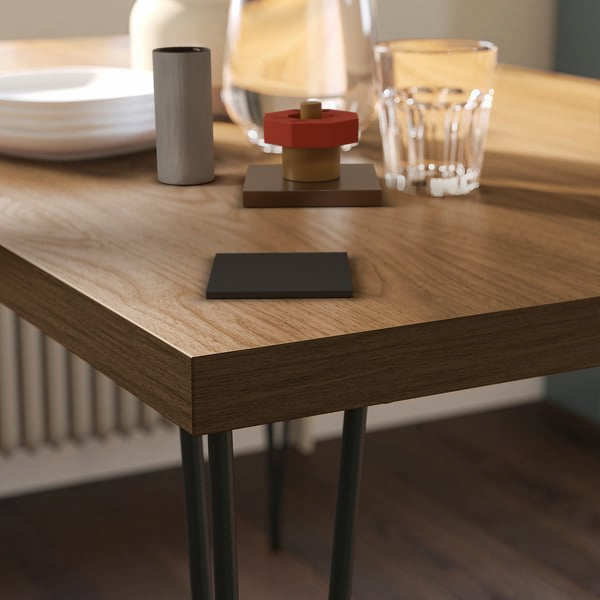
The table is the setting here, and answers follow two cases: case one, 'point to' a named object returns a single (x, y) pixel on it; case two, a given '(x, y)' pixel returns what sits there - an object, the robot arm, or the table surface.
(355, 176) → the ring holder
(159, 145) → the planter
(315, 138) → the ring
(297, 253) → the mat
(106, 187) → the table surface
